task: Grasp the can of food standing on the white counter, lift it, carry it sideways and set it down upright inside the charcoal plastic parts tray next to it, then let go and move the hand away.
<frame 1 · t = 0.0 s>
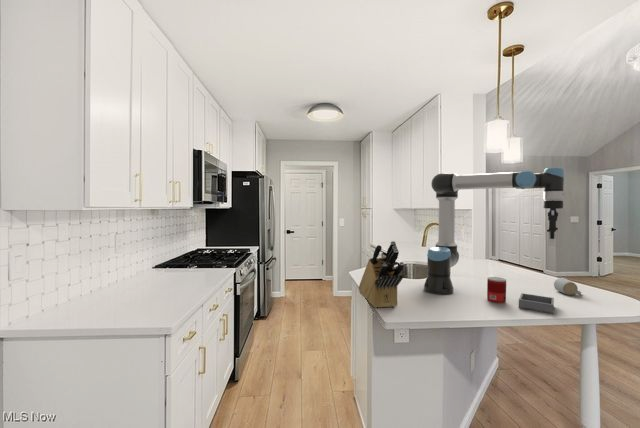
hand: (552, 244, 148), 28 cm above the countertop, tool pointing down, fingers open, 13 cm apart
canned food: (496, 301, 151), on the countertop
knife block: (379, 302, 148), on the countertop
ceramic mug: (568, 294, 163), on the countertop
parts tray: (536, 307, 141), on the countertop
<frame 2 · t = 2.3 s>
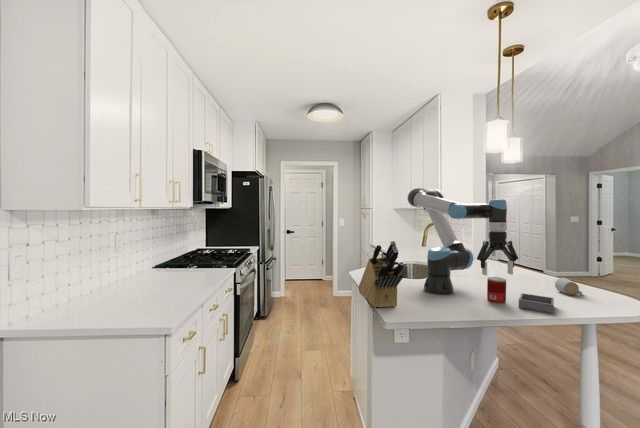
hand: (497, 274, 150), 13 cm above the countertop, tool pointing down, fingers open, 13 cm apart
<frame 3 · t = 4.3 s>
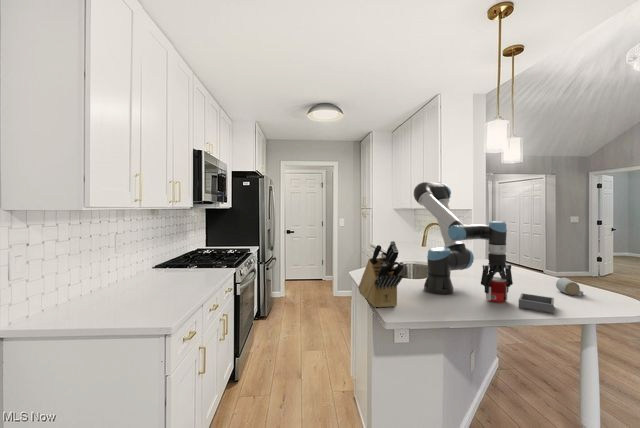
hand: (496, 299, 151), 1 cm above the countertop, tool pointing down, fingers closed on canned food, 8 cm apart
canned food: (496, 301, 151), on the countertop, touching gripper
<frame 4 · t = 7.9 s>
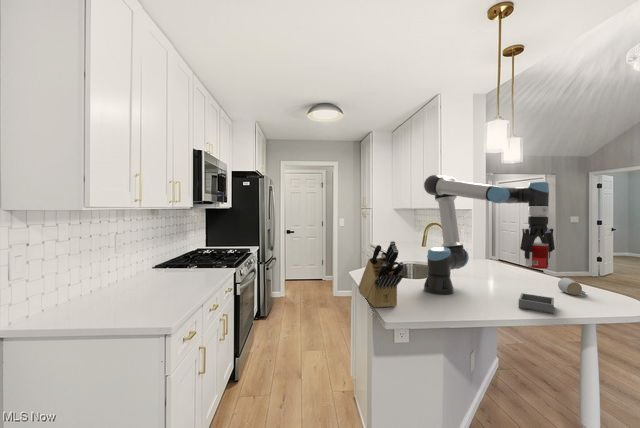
hand: (537, 265, 141), 19 cm above the countertop, tool pointing down, fingers closed on canned food, 8 cm apart
canned food: (537, 267, 140), point 18 cm above the countertop, touching gripper
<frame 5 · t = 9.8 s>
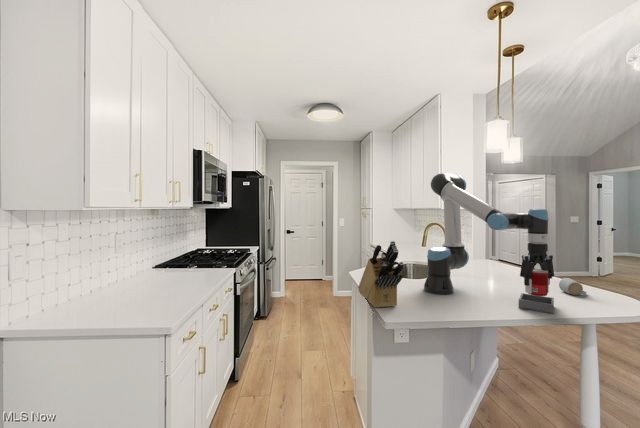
hand: (536, 292, 141), 7 cm above the countertop, tool pointing down, fingers closed on canned food, 8 cm apart
canned food: (536, 294, 141), point 6 cm above the countertop, touching gripper
when the fingers open (4 cm above the countertop, at t = 11.4 s): canned food drops 2 cm, resting on parts tray.
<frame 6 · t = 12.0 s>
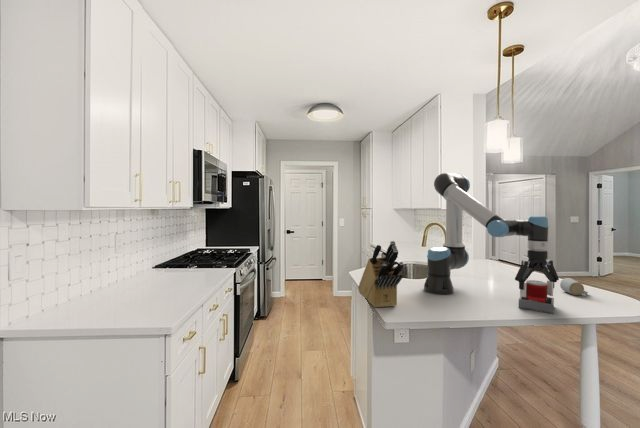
hand: (536, 296, 141), 5 cm above the countertop, tool pointing down, fingers open, 13 cm apart
canned food: (536, 306, 141), resting on parts tray
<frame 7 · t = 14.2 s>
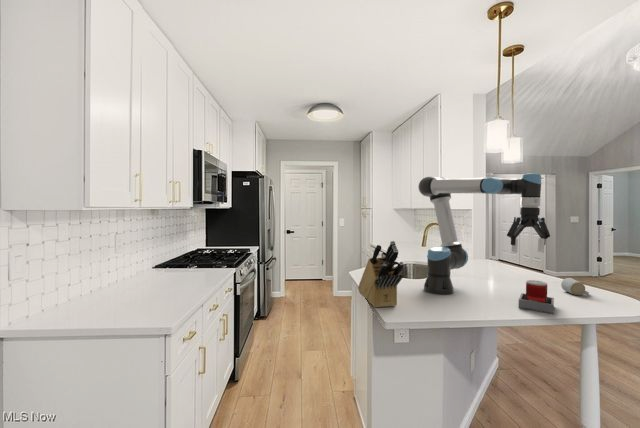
hand: (527, 252, 144), 25 cm above the countertop, tool pointing down, fingers open, 13 cm apart
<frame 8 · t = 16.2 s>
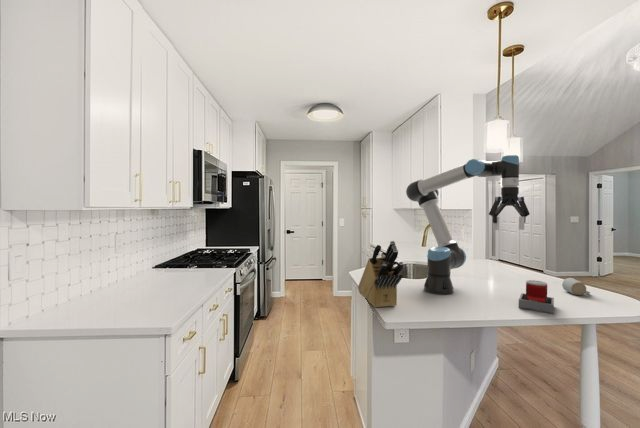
hand: (509, 229, 153), 35 cm above the countertop, tool pointing down, fingers open, 13 cm apart
at the end: canned food 0.1 cm off-centre on the parts tray, point 0.4 cm above the parts tray's base; canned food tilted 0°; the gripper is holding nothing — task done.
